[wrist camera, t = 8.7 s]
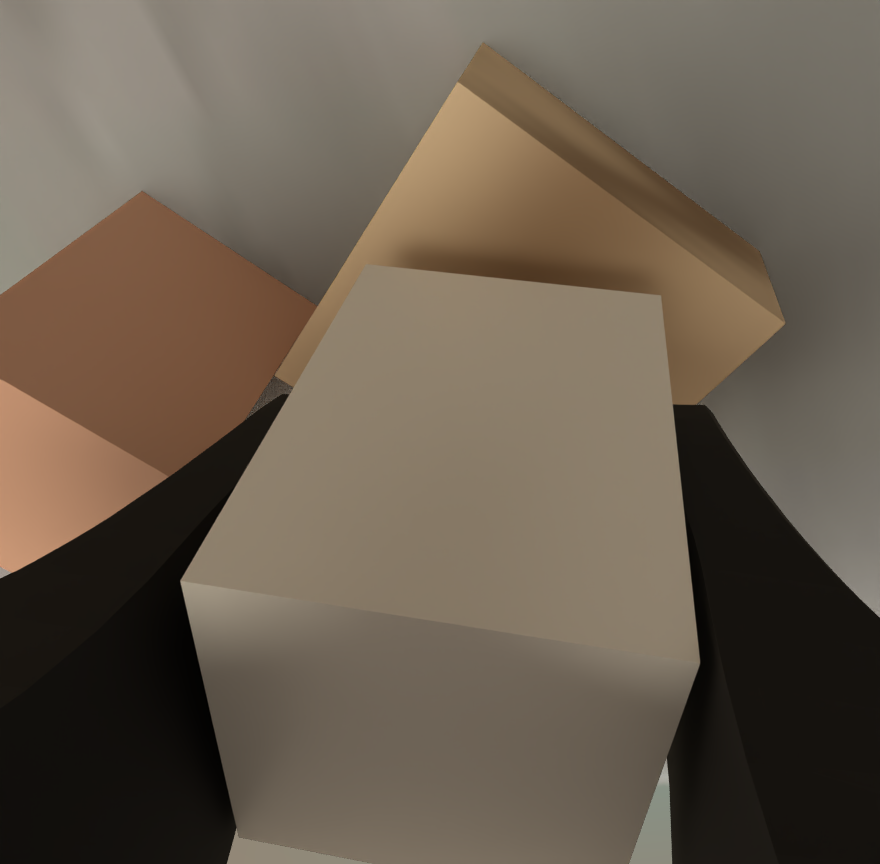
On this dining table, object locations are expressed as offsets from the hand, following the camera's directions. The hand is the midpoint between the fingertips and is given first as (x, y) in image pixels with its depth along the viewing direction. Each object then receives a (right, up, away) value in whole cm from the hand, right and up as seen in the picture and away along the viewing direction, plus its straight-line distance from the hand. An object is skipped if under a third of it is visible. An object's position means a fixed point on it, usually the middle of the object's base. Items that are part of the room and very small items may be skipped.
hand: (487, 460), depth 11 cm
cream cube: (0, +1, +1) cm, 2 cm away
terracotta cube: (-6, +3, +6) cm, 9 cm away
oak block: (+1, +3, +5) cm, 6 cm away
